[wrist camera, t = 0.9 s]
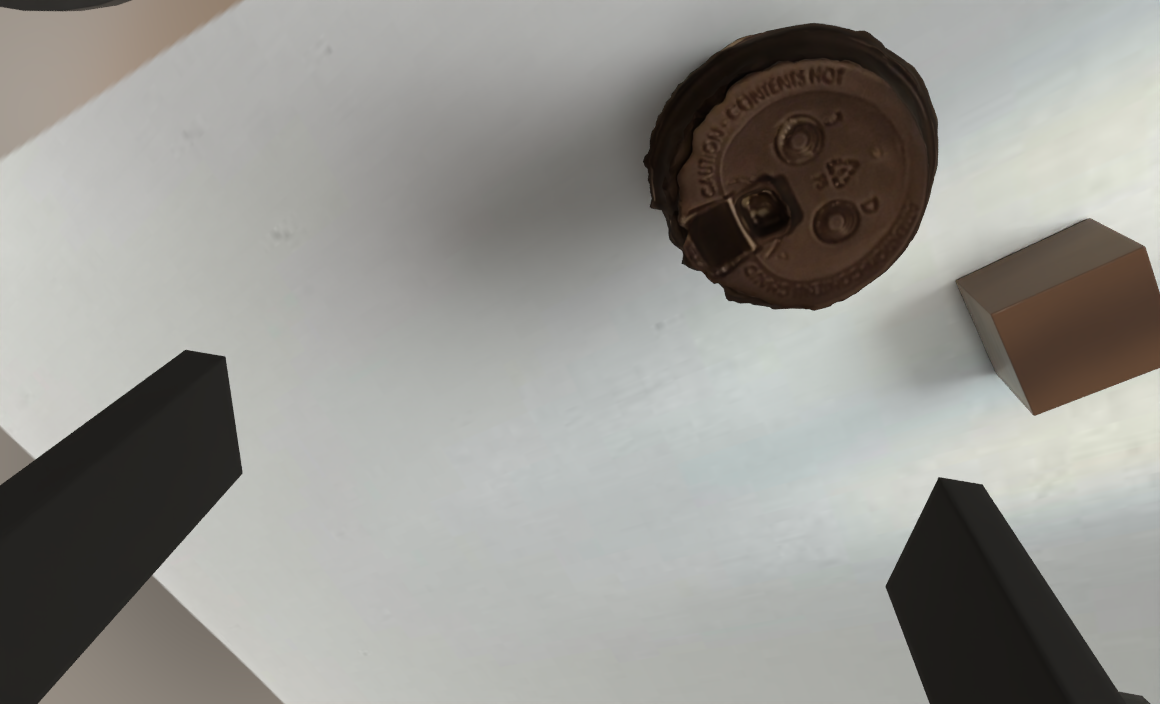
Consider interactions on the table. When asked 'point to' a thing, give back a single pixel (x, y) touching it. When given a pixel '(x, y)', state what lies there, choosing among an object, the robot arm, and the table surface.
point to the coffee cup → (795, 165)
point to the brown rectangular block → (1067, 315)
